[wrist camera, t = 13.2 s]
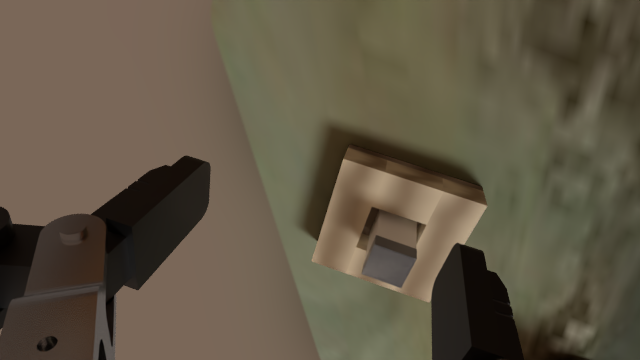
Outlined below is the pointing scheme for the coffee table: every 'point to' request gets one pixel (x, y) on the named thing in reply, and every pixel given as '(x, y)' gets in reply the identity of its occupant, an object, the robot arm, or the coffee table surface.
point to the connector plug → (391, 248)
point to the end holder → (400, 199)
